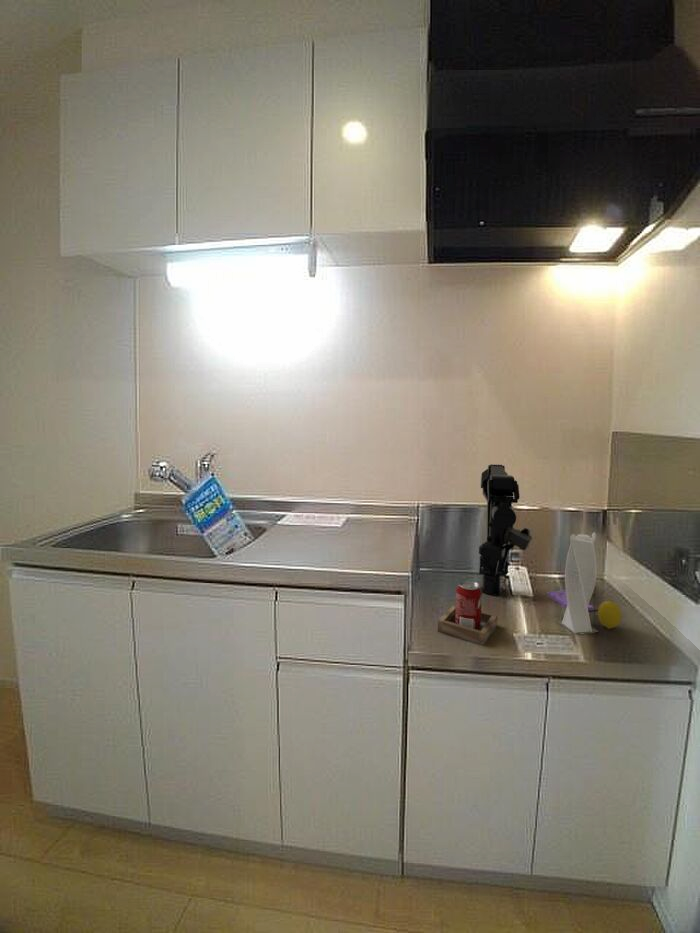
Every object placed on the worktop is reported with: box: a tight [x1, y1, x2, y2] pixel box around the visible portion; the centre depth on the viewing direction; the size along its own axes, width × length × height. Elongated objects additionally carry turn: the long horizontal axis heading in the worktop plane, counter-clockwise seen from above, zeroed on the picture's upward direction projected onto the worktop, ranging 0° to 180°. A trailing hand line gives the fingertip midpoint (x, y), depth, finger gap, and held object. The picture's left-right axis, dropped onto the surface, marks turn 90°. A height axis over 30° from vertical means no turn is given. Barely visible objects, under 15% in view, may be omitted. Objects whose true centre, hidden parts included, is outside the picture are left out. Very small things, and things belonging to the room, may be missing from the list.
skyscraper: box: [557, 531, 599, 635], centre depth 116 cm, size 8×8×28 cm
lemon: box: [597, 600, 622, 629], centre depth 117 cm, size 6×6×8 cm
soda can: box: [455, 580, 483, 629], centre depth 117 cm, size 7×7×12 cm
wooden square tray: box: [437, 603, 498, 646], centre depth 117 cm, size 12×12×3 cm
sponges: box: [547, 589, 594, 611], centre depth 133 cm, size 7×13×2 cm, turn 11°
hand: (497, 571), depth 124 cm, fingers open, 9 cm apart
